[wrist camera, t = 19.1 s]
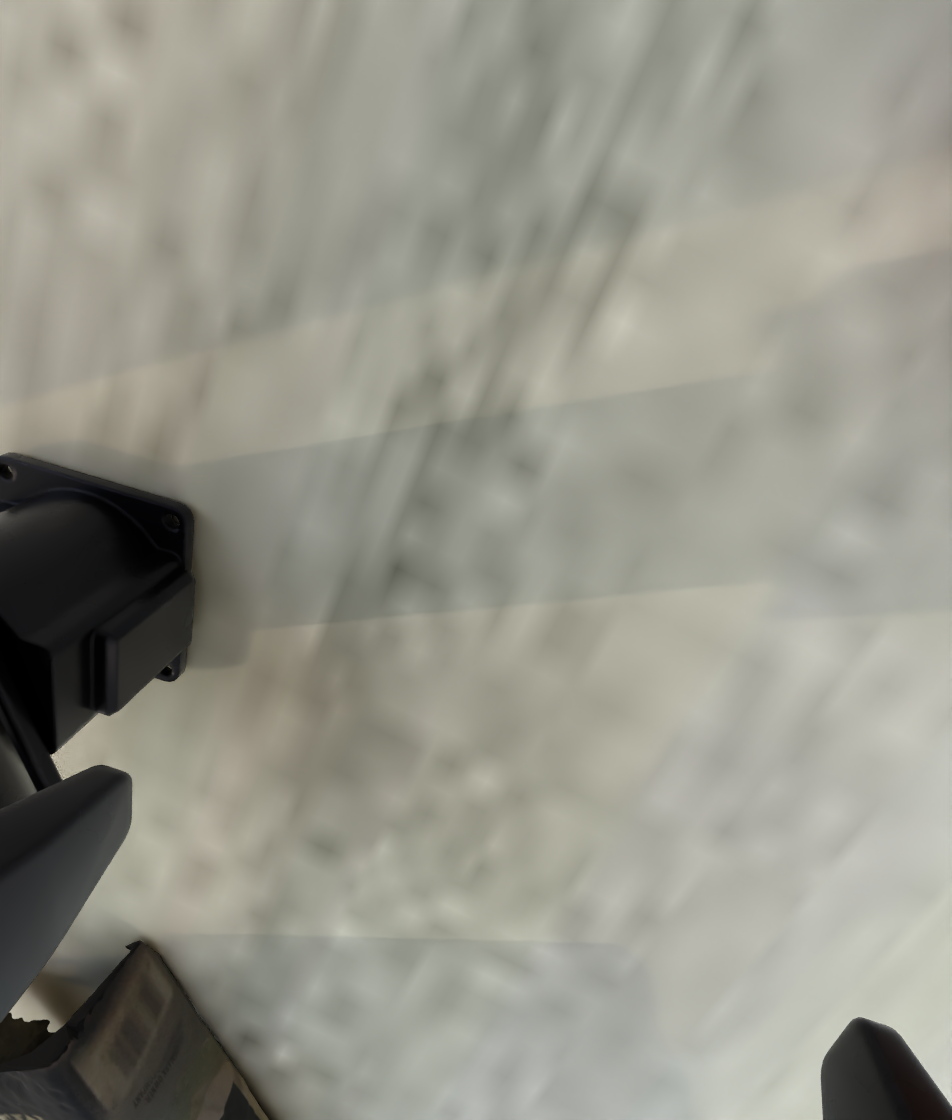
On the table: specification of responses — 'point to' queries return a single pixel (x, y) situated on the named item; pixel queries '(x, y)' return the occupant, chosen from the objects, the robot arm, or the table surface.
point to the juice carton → (122, 1056)
